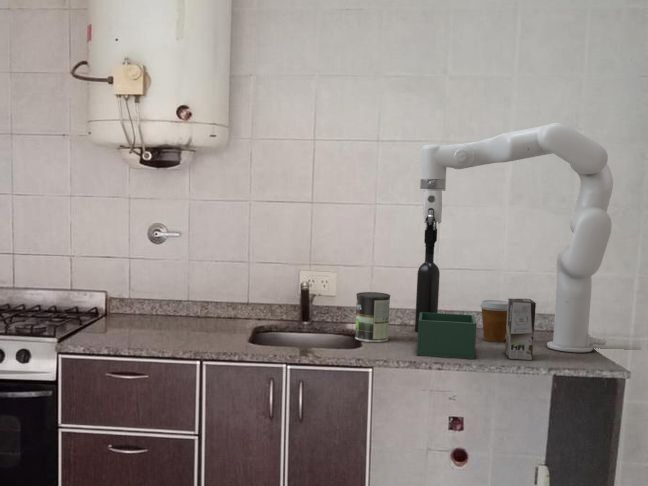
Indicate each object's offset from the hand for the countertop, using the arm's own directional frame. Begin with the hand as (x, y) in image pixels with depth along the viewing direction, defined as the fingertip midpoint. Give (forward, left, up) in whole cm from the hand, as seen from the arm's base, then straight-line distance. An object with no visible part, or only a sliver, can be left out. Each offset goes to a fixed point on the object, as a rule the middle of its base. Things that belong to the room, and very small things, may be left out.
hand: (430, 242), depth 248 cm
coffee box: (-26, +15, -31) cm, 43 cm away
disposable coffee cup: (-21, -9, -31) cm, 38 cm away
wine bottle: (0, -17, -31) cm, 35 cm away
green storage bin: (-6, +15, -30) cm, 34 cm away
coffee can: (+16, +3, -31) cm, 35 cm away
